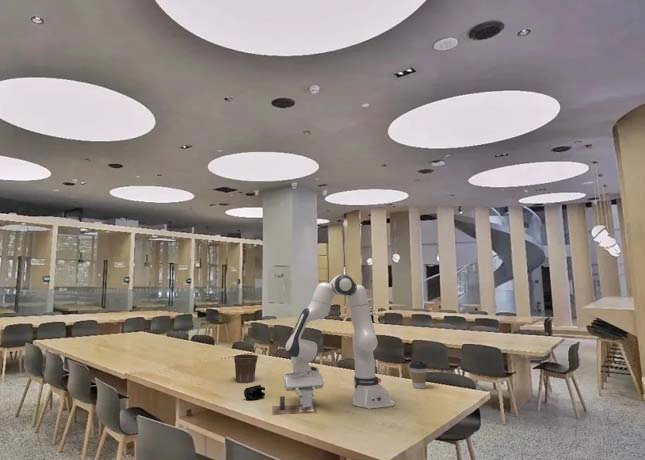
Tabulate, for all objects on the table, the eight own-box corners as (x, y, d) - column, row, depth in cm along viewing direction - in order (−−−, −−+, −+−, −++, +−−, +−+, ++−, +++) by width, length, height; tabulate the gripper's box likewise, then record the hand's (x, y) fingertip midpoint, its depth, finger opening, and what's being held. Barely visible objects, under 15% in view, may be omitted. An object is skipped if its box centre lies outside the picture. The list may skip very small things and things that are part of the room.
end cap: (257, 396, 233) (257, 383, 234) (265, 398, 228) (265, 385, 229) (243, 399, 226) (243, 387, 227) (251, 402, 221) (251, 389, 222)
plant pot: (260, 378, 276) (260, 354, 279) (254, 384, 261) (254, 358, 263) (237, 378, 278) (237, 354, 280) (229, 383, 262) (230, 358, 264)
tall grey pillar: (309, 403, 205) (309, 388, 206) (312, 406, 201) (312, 390, 202) (300, 404, 204) (300, 388, 205) (302, 407, 199) (302, 391, 200)
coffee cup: (429, 390, 243) (428, 364, 245) (410, 389, 246) (409, 364, 248) (428, 385, 254) (427, 361, 257) (409, 385, 257) (409, 360, 259)
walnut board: (314, 407, 210) (314, 392, 211) (317, 416, 196) (317, 400, 198) (272, 409, 208) (272, 394, 209) (272, 418, 194) (272, 401, 195)
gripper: (283, 370, 208) (287, 394, 197) (321, 367, 214) (326, 391, 203) (281, 377, 212) (285, 401, 201) (318, 374, 218) (324, 398, 207)
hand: (306, 396), depth 202 cm, fingers closed on tall grey pillar, 5 cm apart
